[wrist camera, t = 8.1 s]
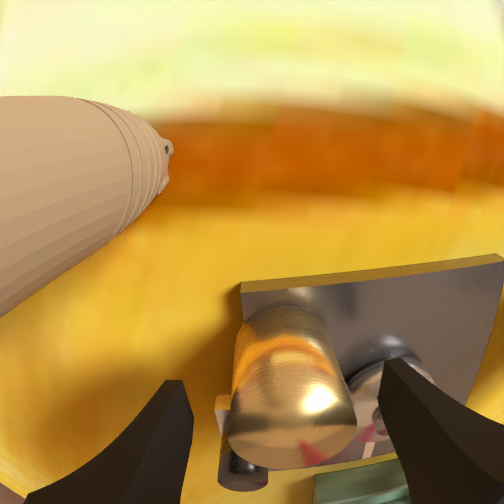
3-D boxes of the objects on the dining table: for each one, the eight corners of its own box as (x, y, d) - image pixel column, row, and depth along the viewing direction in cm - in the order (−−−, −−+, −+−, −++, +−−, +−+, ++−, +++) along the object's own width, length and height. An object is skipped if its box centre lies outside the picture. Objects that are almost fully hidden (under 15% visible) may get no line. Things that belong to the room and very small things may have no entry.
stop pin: (329, 300, 13) (364, 384, 8) (327, 375, 14) (349, 460, 9) (229, 309, 13) (217, 398, 8) (241, 383, 14) (236, 471, 9)
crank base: (496, 253, 13) (508, 261, 12) (445, 425, 17) (451, 435, 16) (240, 281, 13) (239, 294, 12) (264, 459, 18) (264, 472, 17)
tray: (441, 445, 18) (452, 469, 16) (414, 491, 21) (421, 511, 19) (314, 474, 19) (319, 503, 16) (310, 513, 21) (313, 536, 19)
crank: (437, 348, 13) (477, 405, 9) (415, 416, 15) (440, 470, 11) (212, 374, 14) (201, 448, 10) (226, 440, 15) (221, 504, 11)
